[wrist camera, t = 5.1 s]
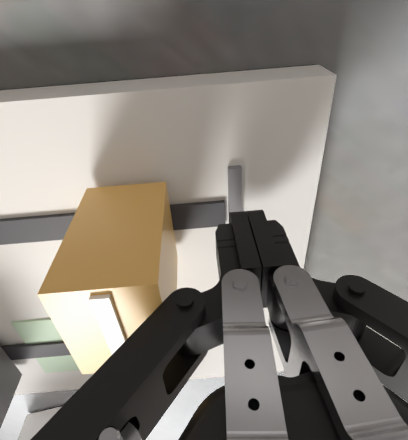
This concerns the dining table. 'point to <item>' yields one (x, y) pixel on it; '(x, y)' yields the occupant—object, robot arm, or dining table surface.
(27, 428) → the milk carton
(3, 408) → the fader charcoal
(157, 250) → the fader amber
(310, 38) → the dining table surface
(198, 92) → the board
